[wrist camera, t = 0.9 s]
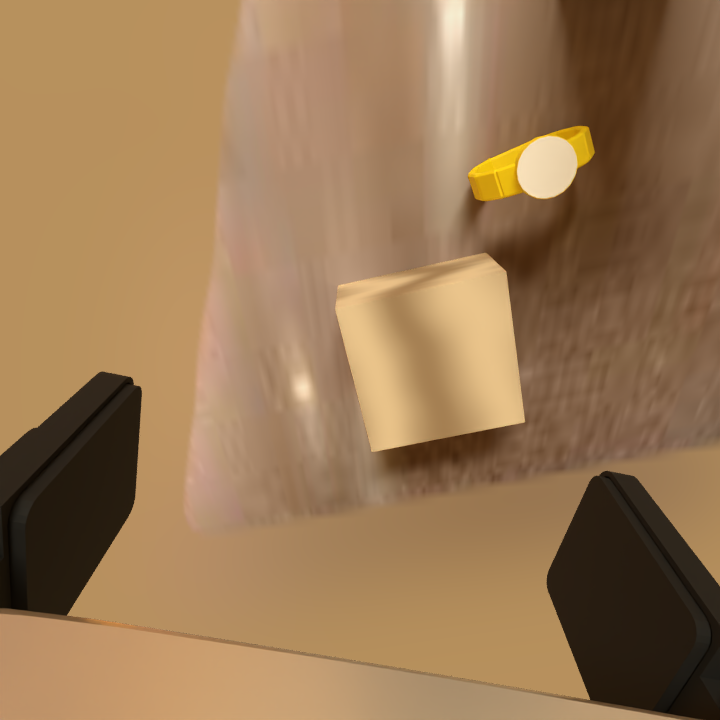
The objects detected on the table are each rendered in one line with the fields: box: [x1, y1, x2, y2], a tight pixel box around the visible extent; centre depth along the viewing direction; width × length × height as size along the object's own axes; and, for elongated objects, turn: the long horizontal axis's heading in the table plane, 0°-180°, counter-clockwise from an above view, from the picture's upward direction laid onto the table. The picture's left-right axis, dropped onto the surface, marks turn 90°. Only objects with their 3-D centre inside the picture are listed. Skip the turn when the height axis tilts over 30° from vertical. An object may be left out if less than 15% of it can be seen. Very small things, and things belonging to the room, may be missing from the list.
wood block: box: [335, 253, 525, 452], centre depth 32 cm, size 9×9×5 cm
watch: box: [468, 126, 595, 201], centre depth 27 cm, size 6×3×6 cm, turn 113°
